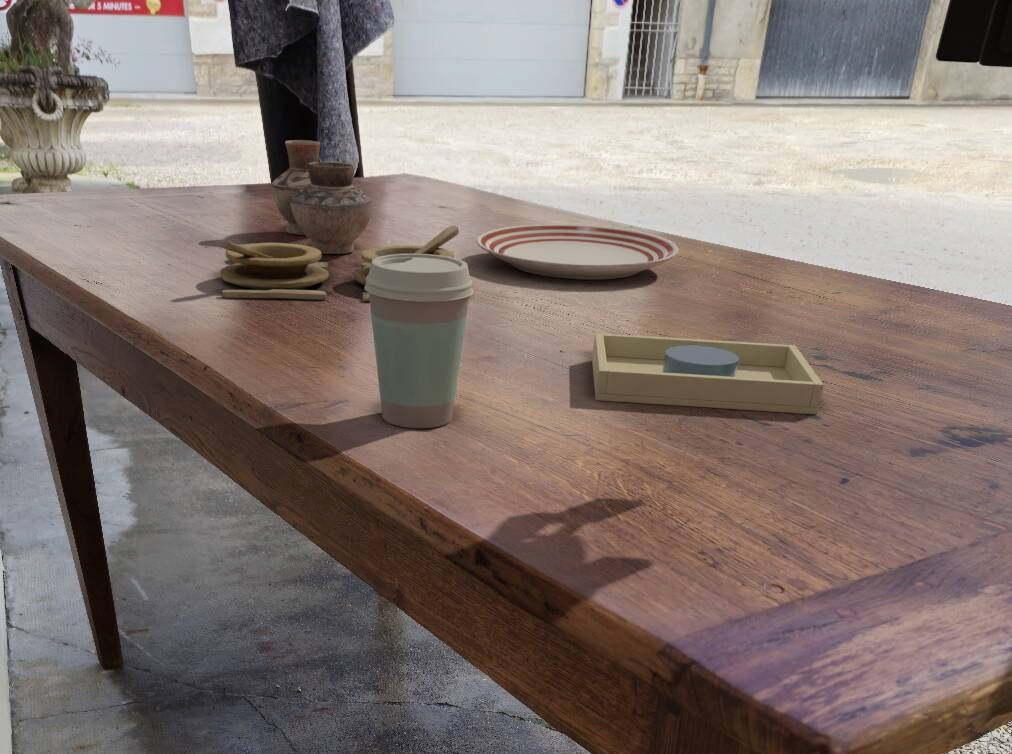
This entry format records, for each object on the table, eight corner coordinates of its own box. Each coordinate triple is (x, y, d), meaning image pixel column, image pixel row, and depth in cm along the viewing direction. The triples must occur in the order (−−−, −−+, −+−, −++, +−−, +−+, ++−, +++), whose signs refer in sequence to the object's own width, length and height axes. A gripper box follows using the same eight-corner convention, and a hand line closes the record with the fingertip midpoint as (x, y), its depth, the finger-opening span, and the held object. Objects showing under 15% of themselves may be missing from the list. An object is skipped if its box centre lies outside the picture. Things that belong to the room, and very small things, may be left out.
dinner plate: (630, 297, 128) (634, 268, 126) (439, 267, 139) (439, 240, 137) (701, 264, 148) (706, 239, 146) (529, 240, 159) (531, 216, 157)
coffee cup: (432, 397, 92) (436, 249, 85) (487, 425, 86) (496, 268, 79) (347, 410, 88) (344, 256, 81) (399, 440, 82) (400, 277, 75)
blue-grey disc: (729, 371, 101) (733, 347, 99) (739, 391, 95) (744, 367, 94) (658, 366, 101) (662, 343, 100) (664, 387, 95) (668, 362, 94)
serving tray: (789, 372, 103) (795, 345, 102) (816, 414, 92) (824, 384, 91) (591, 359, 104) (594, 332, 103) (595, 400, 93) (599, 370, 92)
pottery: (331, 226, 162) (329, 138, 155) (384, 257, 144) (384, 158, 137) (260, 228, 159) (255, 138, 152) (304, 260, 140) (300, 158, 133)
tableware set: (453, 269, 138) (455, 220, 135) (470, 303, 122) (472, 248, 119) (227, 265, 135) (223, 214, 132) (213, 299, 119) (208, 242, 116)
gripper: (1206, -305, 56) (1083, 71, 66) (1077, -240, 70) (991, 62, 80) (1064, -310, 57) (963, 66, 67) (964, -244, 71) (892, 58, 81)
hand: (978, 64), depth 73 cm, fingers open, 9 cm apart
